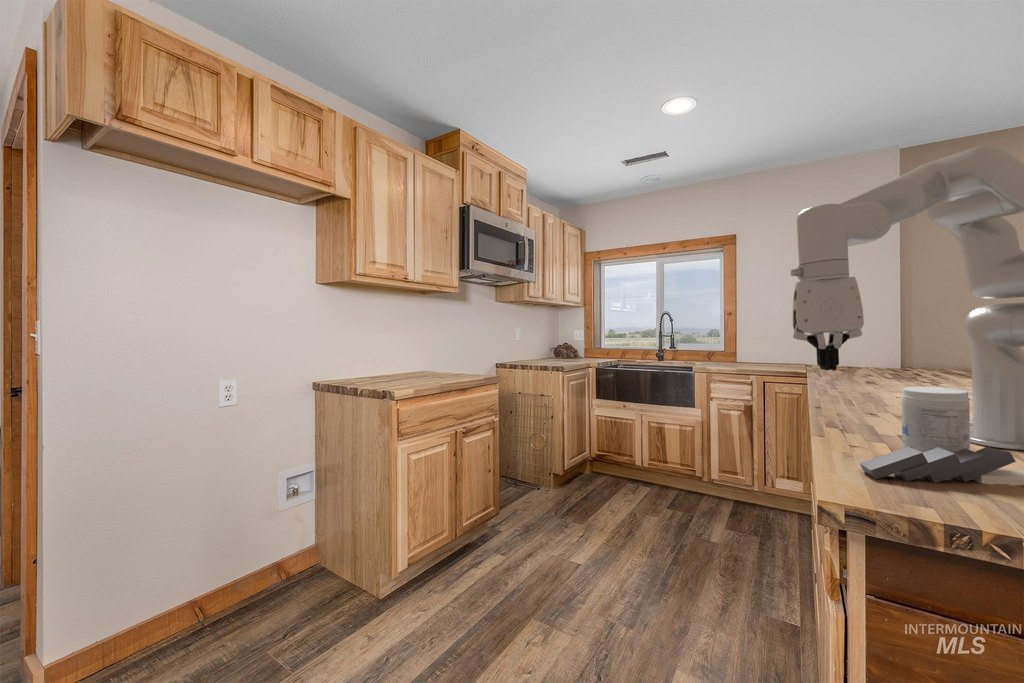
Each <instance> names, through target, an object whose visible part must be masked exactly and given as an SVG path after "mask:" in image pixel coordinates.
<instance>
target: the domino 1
mask: <svg viewBox="0 0 1024 683" xmlns="http://www.w3.org/2000/svg"><path fill="white" fill-rule="evenodd" d="M927 462H928V461H927V459H926V458H925V456H924V454H923V453H922V452H920V451H918V450H915V449H913V448H911V447H905V448H902V447H901V448H899V449H896V450H893V451H891V452H889V453H885V454H882V455H880V456H876V457H874V458H873V457H872V458H870V459H868V460H865V461H862V462H860V463H859V465H860V467H861V469H862V471H863V473H865V474H866V475H868V476H869V477H871V478H872V479H874V480H879V479H882V478H885V477H887V476H891V475H895V474H894V473H897V472H900V471H903V470H906V469H909V468H912V467H915V466H918V465H921V464H924V463H927Z"/></svg>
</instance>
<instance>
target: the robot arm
mask: <svg viewBox="0 0 1024 683" xmlns="http://www.w3.org/2000/svg"><path fill="white" fill-rule="evenodd" d="M924 211H925V214H926V216H927V218H928V219H929V221H931V222H932V223H934V224H935V225H937V226H938V227H940V228H943V229H944V230H946V231H947V232H949V233H950V234H951V235H952V236H953V237H954V238H955V239H956V241H957V242H958V244H959V248H960V252H961V258H962V263H963V267H964V268H963V269H964V273H965V275H964V276H965V279H966V284H967V287H968V288H967V289H968V291H969V293H970V294H971V295H972V297H975V298H978V299H981V300H982V299H983V300H984V299H985V300H994V299H995V300H998V299H1012V298H1024V251H1023V250H1022V249H1021V246H1020V241H1019V236H1018V231H1017V229H1016V227H1015V226H1014V225H1013V224H1012V223H1011V222H1010V221H1008V220H1007V219H1005V218H1003V217H1009V216H1013V215H1018V214H1021V213H1024V162H1022V161H1021V160H1020V159H1018V158H1017V157H1015V156H1014V155H1012V154H1010V152H1007V151H1006V150H1003V149H1001V148H998V147H995V146H991V145H979V146H974V147H972V148H969V149H966V150H962V151H959V152H956V153H954V154H950V155H947V156H944V157H942V158H939V159H935V160H932V161H930V162H927V163H924V164H922V165H920V166H917V167H916V168H914V169H912V170H910V171H908V172H905V173H904V174H902V175H900V176H898V177H896V178H894V179H892V180H890V181H888V182H886V183H884V184H882V185H879V186H877V187H875V188H872V189H870V190H868V191H866V192H863V193H861V194H859V195H858V196H855V197H853V198H852V197H851V198H850V199H848V200H845V201H843V202H840V203H824V204H820V205H814V206H811V207H808V208H805V209H803V210H801V211H800V212H799V213H798V215H797V218H796V229H797V230H796V232H797V234H796V235H797V251H798V252H797V253H798V265H797V268H794V269H793V268H792V269H791V270H790V276H791V277H796V278H798V280H799V281H797V282H795V286H794V293H793V300H792V301H793V302H792V327H793V335H792V337H793V339H794V340H799V341H804V342H805V341H806V342H807V343H808V344H810V345H811V346H813V348H814V349H816V363H817V365H818V366H819V368H820V370H822V371H837V369H838V366H839V365H840V356H839V354H840V353H839V349H840V348H842V345H844V344H845V343H846V342H847V341H848V340H850V339H854V338H859V337H861V336H862V335H863V332H862V329H863V327H864V322H865V321H864V320H865V319H864V309H863V304H862V297H861V294H860V288H859V286H858V285H859V284H858V282H857V278H856V277H855V276H850V265H849V247H853V246H858V245H863V244H868V243H871V242H875V241H877V240H879V239H881V238H882V237H884V236H885V235H887V233H888V232H889V231H890V229H891V228H892V226H894V225H896V224H899V223H901V222H904V221H908V220H910V219H912V218H914V217H916V216H917V215H919V214H921V213H923V212H924ZM964 330H965V333H966V334H965V335H966V337H967V340H968V344H969V349H970V350H969V351H970V357H971V358H970V359H971V384H972V386H971V389H972V394H971V395H972V420H970V427H972V432H971V431H970V443H973V444H975V445H976V444H977V445H981V446H985V447H990V448H997V449H999V448H1000V449H1007V450H1018V451H1019V450H1020V451H1024V350H1023V349H1022V348H1021V347H1024V301H1023V302H1007V303H993V304H986V305H982V306H979V307H977V308H974V309H973V310H970V311H969V313H967V315H966V316H965V318H964ZM824 333H825V334H827V333H828V339H827V340H828V341H827V342H826V338H825V334H824Z"/></svg>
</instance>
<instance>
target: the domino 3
mask: <svg viewBox="0 0 1024 683" xmlns="http://www.w3.org/2000/svg"><path fill="white" fill-rule="evenodd" d="M954 453H955V454H956V456H957V457H958V459H959V461H960V462H961V463H960V464H957V465H954V466H952V467H949V468H946V469H943V470H940V471H937V472H934V473H931V474H928V475H925V476H922V477H921V478H923V477H924V479H925V478H926V480H927V479H928V481H929V480H930V481H929V482H931V481H932V482H931V483H933V482H934V483H933V484H936V483H937V484H938V483H940V482H943V481H947V480H949V479H954V478H953V477H955V476H958V475H961V474H964V473H967V472H970V471H973V470H976V469H979V468H982V467H985V466H988V465H990V464H989V462H988V461H987V459H986V457H985V456H984V455H983V454H980V453H977V452H975V451H974V450H971V449H970V450H968V449H962V450H959V451H957V452H954Z"/></svg>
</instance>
